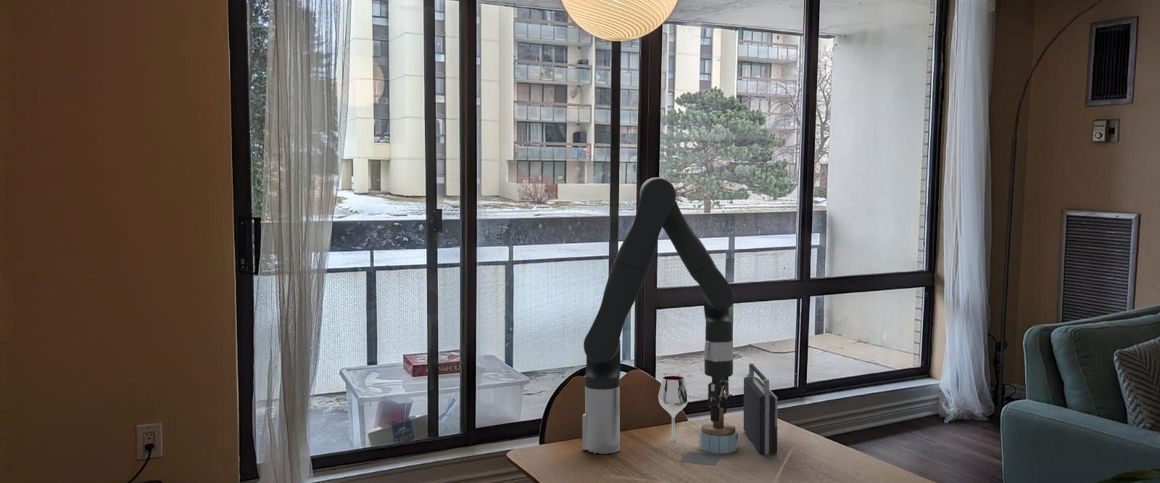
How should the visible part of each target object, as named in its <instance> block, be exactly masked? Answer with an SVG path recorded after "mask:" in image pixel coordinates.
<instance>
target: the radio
mask: <svg viewBox="0 0 1160 483" xmlns="http://www.w3.org/2000/svg"><path fill="white" fill-rule="evenodd" d="M755 374H756V375H757V376H758V377H759V378H758V377H756V376H755ZM743 430H744V432H745V434H746V436H747V437H748V439H749V440H750V442H751V444H752V445H753V447H754V448H755V450H756V451H757V453H758V454H759V455H775V454H777V453H778V396H777V395H776V394H774V392H773V391H772V390H771V389H770V379H769V378H767V377H766V376H765V375H764V374H763V373H762V372H761V371H760V370H759V368H757V367H756V365H755V363H752V362H751V363H749V364H748V373H747V376H745V377H743Z"/></svg>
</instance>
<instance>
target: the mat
mask: <svg viewBox="0 0 1160 483" xmlns="http://www.w3.org/2000/svg"><path fill="white" fill-rule="evenodd" d="M722 457H723V455H722V454H716V453H705V452H695V451H687V453H686V454H685V455H684V456H683V457H682V458H681V459H680V460H679V462H680V463H688V464H696V465H697V464H698V465H706V466H713V467H715V466H716V465H717V464H718V462H719V460H721V458H722Z"/></svg>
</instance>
